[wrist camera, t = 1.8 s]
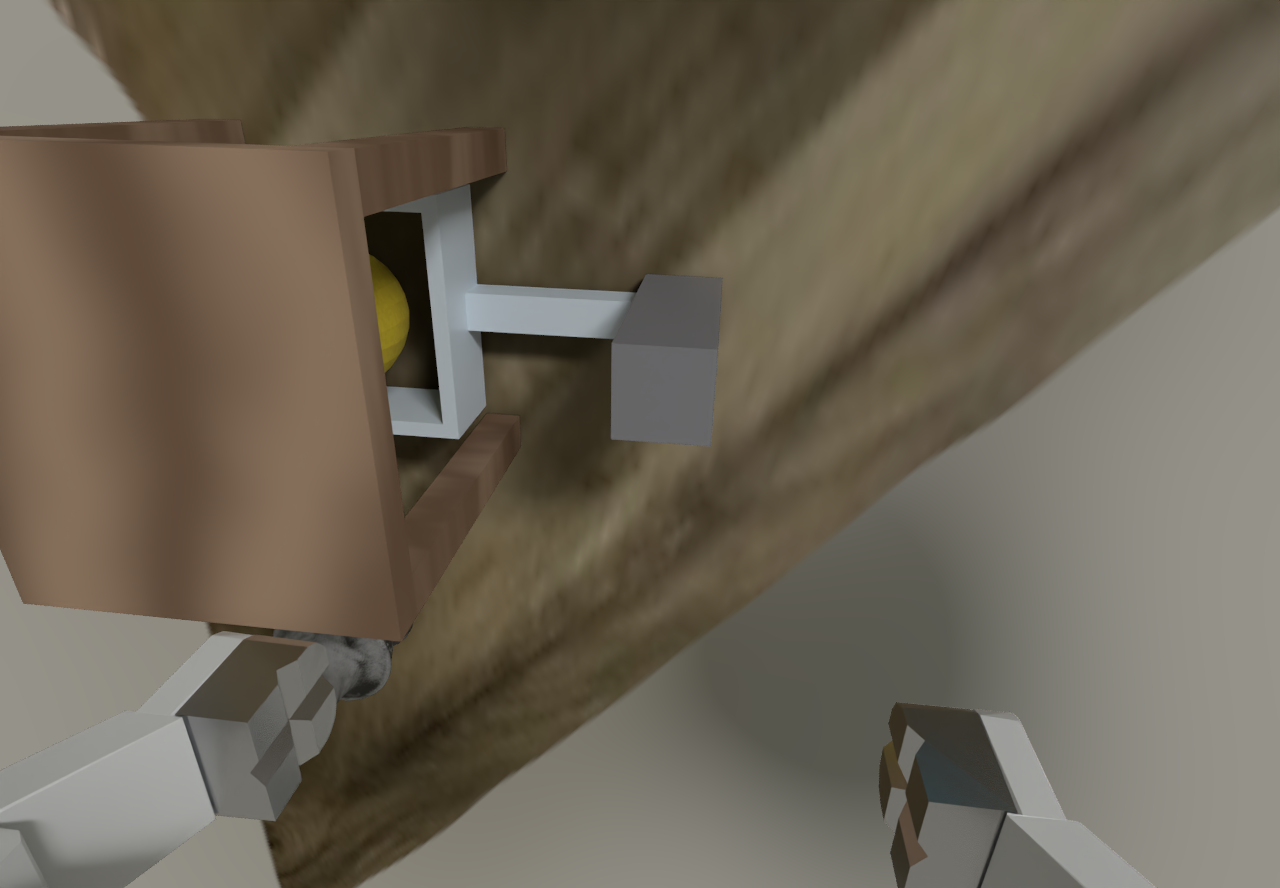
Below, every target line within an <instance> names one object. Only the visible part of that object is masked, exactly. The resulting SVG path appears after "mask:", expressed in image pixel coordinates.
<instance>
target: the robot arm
mask: <svg viewBox="0 0 1280 888" xmlns="http://www.w3.org/2000/svg"><path fill="white" fill-rule="evenodd" d="M328 665H329V661H328V657H327V654H326V650H325V646H323V645H321V644H319V643H316V642H309V641H301V640H294V639H286V638H278V637H271V636H263V635H249V634H241V633H234V632H227V631H222V632H219V633H217V634H214V635H212V636H211V637H210V638H209V639H208V640H207V641H206V642H205V643H204V644H203V645H202V646H201V647H200V648H199V649H198V650H197V651H196V652H195V653H194V654H193V655H192V656H191V657H190V658H189V659H188V660H187V661H186V662H185V663H184V664H183V665H182V666H181V667H180V668H179V669H178V670H177V671H176V672H175V673H174V674H173V675H172V676H171V677H170V678H169V679H168V680H167V681H166V682H165V683H164V684H163V685H162V686H161V687H160V688H159V689H158V690H157V691H156V692H155V693H154V694H153V695H152V696H151V697H150V698H149V699H148V700H147V701H146V702H145V703H144V704H143V705H142V706H141V707H140V708H139V709H138V710H137V711H136V712H134V711H124V712H122V713H119V714H117V715H115V716H113V717H111V718H109V719H107V720H105V721H103V722H101V723H98V724H97V725H94V726H92V727H90V728H88V729H86V730H84V731H82V732H80V733H77V734H76V735H73V736H71V737H69V738H67V739H65V740H63V741H61V742H59V743H56V744H55V745H52V746H50V747H48V748H46V749H44V750H42V751H40V752H38V753H36V754H33V755H31V756H29V757H27V758H25V759H23V760H21V761H19V762H16V763H14V764H12V765H10V766H8V767H6V768H4V769H2V770H0V888H124V887H125V886H127V885H128V884H129V883H131V882H132V881H133V880H135V879H136V878H137V877H139V876H140V875H141V874H143V873H144V872H145V871H147V870H148V869H149V868H151V867H152V866H153V865H155V864H156V863H157V862H159V861H160V860H162V859H163V858H164V857H165V856H167V855H168V854H169V853H171V852H172V851H174V850H175V849H176V848H178V847H179V846H180V845H181V844H183V843H184V842H185V841H187V840H188V839H190V838H191V837H192V836H194V835H195V834H196V833H198V832H199V831H200V830H202V829H203V828H204V827H206V826H207V825H208V824H210V823H211V822H212V821H214V820H215V819H216V817H215V815H218V816H228V817H238V818H249V819H259V820H269V821H276V819H277V818H278V816H279V815H280V813H281V812H282V810H283V808H284V807H285V805H286V804H287V802H288V801H289V799H290V798H291V796H292V795H293V793H294V791H295V790H296V788H297V787H298V785H299V784H300V782H301V781H302V776H301V769H300V765H302V764H303V763H305V762H306V761H308V760H310V759H311V758H313V757H314V756H316V755H317V754H319V753H320V751H321V749H322V748H323V746H324V744H325V743H326V741H327V739H328V738H329V736H330V733H331V729H332V726H333V723H334V720H335V717H336V701H337V700H336V695H335V690H334V687H333V686H332V685H331V684H330V683H329V682H328V681H327V679H326V678H325V677H324V676H323V675H322V673H323V672H324V670H325V669H326V668H327V666H328ZM889 728H890V732H891V736H892V741H891V742H890V743H888V744H887V745H886V746H884V747H883V750H882V755H881V760H880V765H879V795H880V804H881V809H882V815H883V820H884V822H885V823H886V824H887V825H888V826H889V827H890V828H891V829H892V831H893V832H894V833H895V835H894V839H893V843H892V847H891V851H890V854H891V859H892V863H893V868H894V873H895V877H896V882H897V887H898V888H1156V887H1155V886H1154V885H1153V884H1152V883H1151V882H1149V881H1148V880H1147V879H1146V878H1145V877H1144V876H1142V875H1141V874H1140V873H1139V872H1138V871H1137V870H1135V869H1134V868H1133V867H1132V866H1130V865H1129V864H1128V863H1127V862H1126V861H1125V860H1123V859H1122V858H1121V857H1120V856H1119V855H1118V854H1117V853H1115V852H1114V851H1113V850H1112V849H1111V848H1110V847H1108V846H1107V845H1106V844H1105V843H1104V842H1102V841H1101V840H1100V839H1099V838H1098V837H1097V836H1096V835H1094V834H1093V833H1092V832H1091V831H1090V830H1088V829H1087V828H1086V827H1085V826H1084V825H1083V824H1081V823H1080V822H1077V821H1070V820H1066V817H1065V815H1064V813H1063V811H1062V809H1061V807H1060V805H1059V802H1058V800H1057V798H1056V796H1055V794H1054V792H1053V790H1052V788H1051V786H1050V783H1049V781H1048V779H1047V777H1046V775H1045V773H1044V771H1043V769H1042V766H1041V764H1040V762H1039V760H1038V758H1037V756H1036V754H1035V752H1034V749H1033V747H1032V745H1031V743H1030V741H1029V739H1028V737H1027V734H1026V732H1025V731H1024V728H1023V726H1022V724H1021V722H1020V720H1019V718H1018V717H1017V716H1015V715H1014V714H1013V713H1009V712H999V711H988V710H976V709H973V710H970V709H962V708H952V707H941V706H930V705H920V704H910V703H899V702H896V703H895V705H894V707H893V708H892V711H891V716H890V719H889Z"/></svg>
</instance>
